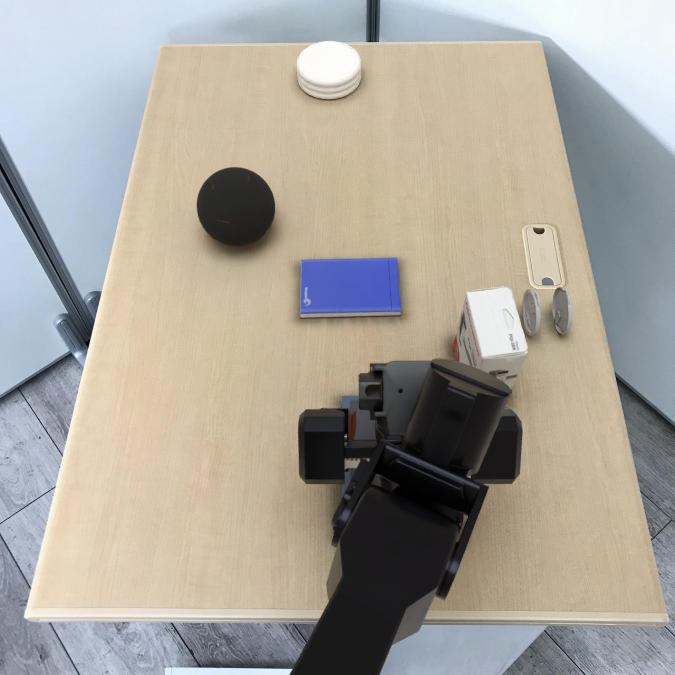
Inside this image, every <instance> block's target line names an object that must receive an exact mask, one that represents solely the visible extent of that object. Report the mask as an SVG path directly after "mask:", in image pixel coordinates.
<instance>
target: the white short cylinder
mask: <svg viewBox="0 0 675 675" xmlns="http://www.w3.org/2000/svg"><path fill="white" fill-rule="evenodd" d="M295 67H296V75H297V76H296V77H297V82H298V85H299V87H300V88H301V90H302V91H303V92H304V93H306V94H308V95H309V96H311V97H314V98H317V99H322V100H334V99H340V98H344V97H347V96H349V95H350V94H352V93H353V92H354V91H355V90H356V89H357V88H358V86H359V85H360V83H361V81H362V59H361V56H360V54H359V52H358V51H357V49H355V48H354V47H352V46H350V45H349V44H347V43H344V42H341V41H337V40H325V41H324V40H323V41H319V42H315V43H312V44H311V45H309V46H307V47H306V48H304V49H303V50H302V51H301V52H300V53H299V55H298V56H297V59H296V66H295Z"/></svg>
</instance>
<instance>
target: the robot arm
mask: <svg viewBox="0 0 675 675" xmlns="http://www.w3.org/2000/svg"><path fill="white" fill-rule="evenodd" d="M511 394H512V388H511V389H510V388H509V386H508V385H506V384H505V383H504V382H503V381H501V380H499V379H498V378H496V377H494V376H493V375H491V374H489V373H487V372H484V371H482V370H480V369H478V368H475V367H473V366H470V365H467V364H464V363H461V362H457V360H454V359H450V358H449V359H448V358H443V357H442V358H441V357H439V358H432V359H431V360H390V361H389V362H370V363H369V371H368V372H361V373H359V374H358V396H359V409H360V410H368V411H369V412H370V420H375V436H376V440H354V438H355V432H356V407H352V408H351V409H349V410H348V408H342V407H322V408H305V409H304V410H303V411H302V412H301V413H300V414H299V416H298V421H297V446H298V447H297V448H298V453H297V454H298V475H299V478H300V479H301V480H302V481H303V483H304V484H305V485H341V484H345V472H348V471H349V468H356V470H355V472H354V474H353V477H352V479H351V481H350V483H349V485H348V487H347V489H346V491H345V493H344V495H343V497H342V499H341V498H340V501H339V503H338V505H337V507H336V509H335V511H334V513H333V515H332V518H331V521H330V526H331V529H332V534H333V535H332V537H331V543H330V545H331V546H332V547H334V548H335V552H334V555H333V558H332V563H331V566H330V569H329V573H328V577H327V579H326V585H325V587H326V592H327V593H326V594H327V599H328V602H327V604H326V606H325V608H324V610H323V612H322V613H321V615H320V616H319V618H318V621H317V622H316V625H315V626H314V628H313V630H312V631H311V633H310V635H309V637H308V639H307V641H306V643H305V644H304V646H303V648H302V650H301V652H300V654H299V656H298V657H297V659H296V661H295V663H294V664H293V667H292V669H291V670H290V672H289V674H288V675H381V673H382V670H383V668H384V665H385V663H386V661H387V658H388V656H389V654H390V651H391V649H392V646H394V645H396V644H397V643H399V642H401V641H403V640H405V639H407V638H409V637H411V636H412V635H415V634H416V633H418V632H420V630H421V629H422V626H423V623H424V621H425V619H426V617H427V614H428V612H429V610H430V608H431V605H432V603H433V601H434V598H435V597H436V598H438V599H440V600H442V601H443V602H445V601H446V599H447V597H448V595H449V593H450V591H451V588H452V586H453V583H454V581H455V578H456V576H457V575H458V574H457V573H458V571H459V569H460V566H461V563H462V561H463V558H464V556H465V553H466V551H467V547H468V545H469V543H470V539H471V537H472V534H473V532H474V528H475V526H476V524H477V520H478V518H479V516H480V513H481V510H482V507H483V504H484V502H485V499H486V497H487V494H488V491H489V489H490V486H489V485H512V484H514V482H515V481H516V480H517V479H518V477H519V476H520V475H521V466H522V464H521V463H522V451H523V450H522V449H523V435H524V434H523V432H524V431H523V430H524V429H523V424H522V423H523V422H522V420H521V418H520V417H519V416H518V414H517V413H516V412H515V411H514V410H513V409H512V408H506V406H507V404H508V401H509V399H510V397H511ZM351 458H353V459H351ZM356 458H357V459H356ZM365 458H366V459H365ZM370 458H371V459H370ZM376 475H377V478H378V486H376V485H374V484H372V482H373V480H374V478H375V476H376ZM465 516H466V517H467V518H466V520H465V523H464V517H465ZM463 524H464V526H463ZM461 530H462V531H461ZM459 535H460V536H459ZM457 540H458V541H457Z"/></svg>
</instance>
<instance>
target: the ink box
mask: <svg viewBox="0 0 675 675" xmlns="http://www.w3.org/2000/svg"><path fill="white" fill-rule="evenodd" d="M465 292H466V294H465V297H464V300H463V305H462V308H461V311H460V312H461V313H460V317H459V320H458V324H457V328H456V331H455V336H454V340H453V343H452V346H453V351H454V356H455V358H456V360H455V361H457V362H461V363H464V364H467V365H470V366H473V367H475V368H478V369H480V370H482V371H484V372H487V373H489V374H491V375H493V376H494V377H496V378H498V379H499V380H501V381H503V382H504V383H505V384H506V385H508V386H509V388H510V389H511V390H512V388H513V386H514V384H515V382H516V379H517V377H518V375H519V372H520V370H521V368H522V366H523V364H524V362H525V360H526V358H527V355H528V354H529V350H528V346H529V345H528V343H527V341H526V340H527V339H526V335H525V332H524V330H523V327H522V326H523V325H522V323H521V319H520V318H521V317H520V315H519V312H518V308H517V304H516V301H515V298H514V293H513V290H512V289H511V288H509V285H502V286H492V287H485V288H479V289H472V290H467V291H465Z"/></svg>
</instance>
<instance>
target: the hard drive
mask: <svg viewBox="0 0 675 675" xmlns="http://www.w3.org/2000/svg"><path fill="white" fill-rule="evenodd" d="M399 277H400V276H399V262H398V257H368V258H367V257H365V258H361V257H360V258H358V257H357V258H356V257H355V258H354V257H353V258H323V259H322V258H315V259H314V258H313V259H312V258H311V259H300V288H299V289H300V292H299V294H300V297H299V316H300V318H304V319H305V318H339V317H378V316H379V317H381V316H401V314H402V305H401V304H402V302H401V292H400V291H401V290H400V279H399Z"/></svg>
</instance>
